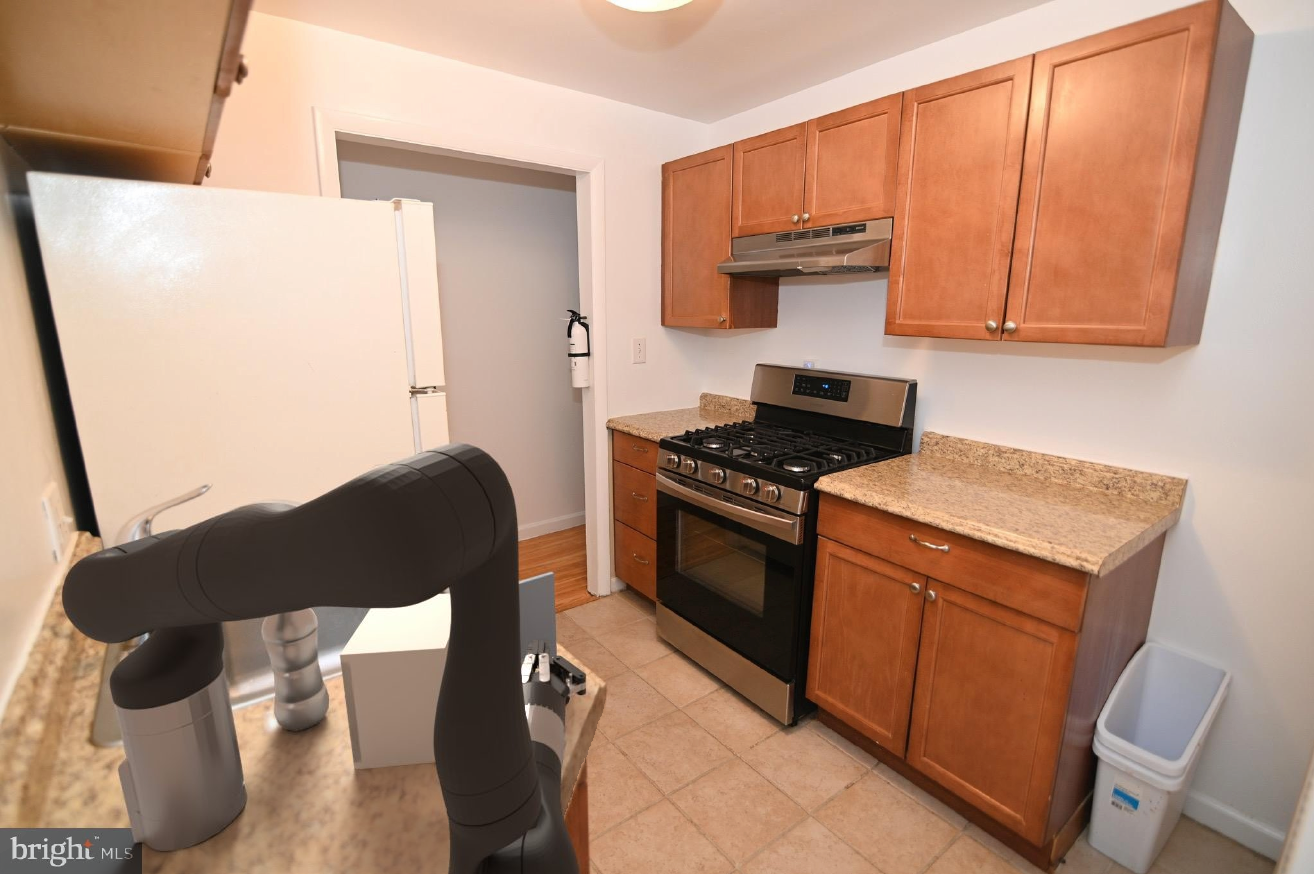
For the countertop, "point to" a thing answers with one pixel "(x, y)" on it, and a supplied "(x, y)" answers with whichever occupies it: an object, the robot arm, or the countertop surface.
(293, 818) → the countertop surface
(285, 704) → the plastic bottle
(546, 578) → the flap
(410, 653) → the box
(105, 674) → the countertop surface
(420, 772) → the countertop surface
